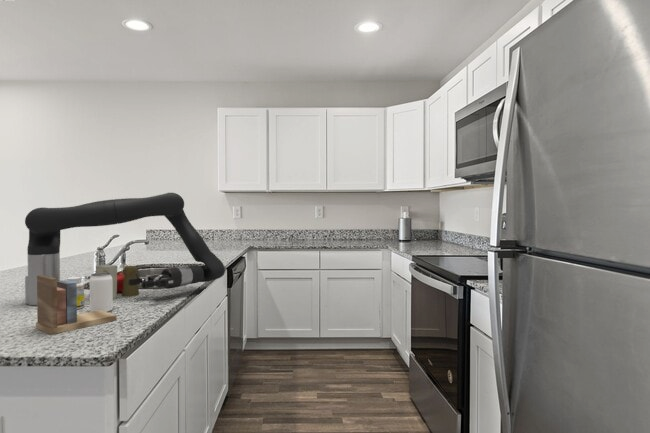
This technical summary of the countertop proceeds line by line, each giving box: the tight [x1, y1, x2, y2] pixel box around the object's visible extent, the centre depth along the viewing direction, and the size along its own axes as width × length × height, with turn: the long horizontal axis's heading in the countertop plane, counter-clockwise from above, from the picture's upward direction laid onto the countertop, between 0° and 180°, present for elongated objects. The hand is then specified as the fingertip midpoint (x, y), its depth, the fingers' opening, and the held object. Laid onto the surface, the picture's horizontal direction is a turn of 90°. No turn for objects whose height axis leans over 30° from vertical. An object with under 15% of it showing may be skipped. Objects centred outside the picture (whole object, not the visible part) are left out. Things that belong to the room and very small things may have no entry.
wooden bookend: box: [35, 275, 117, 336], centre depth 116 cm, size 17×10×14 cm, turn 144°
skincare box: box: [95, 264, 118, 299], centre depth 148 cm, size 6×4×12 cm
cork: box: [121, 265, 140, 297], centre depth 155 cm, size 6×6×11 cm
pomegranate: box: [117, 271, 124, 294], centre depth 160 cm, size 10×10×9 cm
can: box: [89, 272, 114, 313], centre depth 130 cm, size 6×6×12 cm
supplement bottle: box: [66, 276, 85, 310], centre depth 134 cm, size 6×6×10 cm
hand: (135, 283), depth 139 cm, fingers open, 8 cm apart
